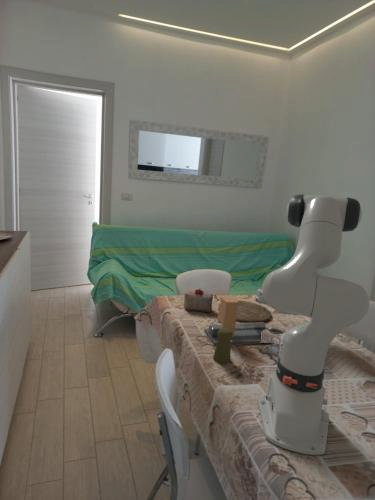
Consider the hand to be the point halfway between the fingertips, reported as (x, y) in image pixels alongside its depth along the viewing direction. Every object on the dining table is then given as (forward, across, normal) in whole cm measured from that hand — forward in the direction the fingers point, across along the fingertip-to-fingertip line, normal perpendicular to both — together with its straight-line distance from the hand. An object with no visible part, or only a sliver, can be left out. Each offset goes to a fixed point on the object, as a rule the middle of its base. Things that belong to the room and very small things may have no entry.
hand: (256, 300), depth 135 cm
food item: (+14, -30, +16) cm, 37 cm away
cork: (+19, +15, +16) cm, 29 cm away
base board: (+6, 0, +16) cm, 17 cm away
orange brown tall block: (+12, 0, +14) cm, 18 cm away
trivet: (-8, -26, +16) cm, 31 cm away
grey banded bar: (+6, 0, +15) cm, 16 cm away
